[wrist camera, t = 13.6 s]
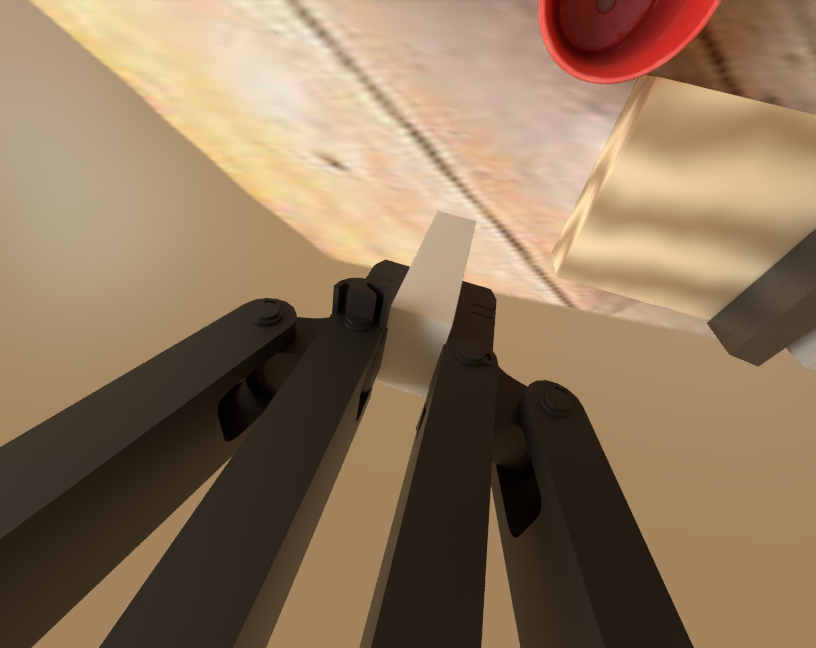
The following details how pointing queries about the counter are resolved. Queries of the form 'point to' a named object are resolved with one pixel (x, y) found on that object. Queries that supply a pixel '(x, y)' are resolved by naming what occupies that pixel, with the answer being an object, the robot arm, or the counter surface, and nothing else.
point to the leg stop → (805, 350)
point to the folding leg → (772, 308)
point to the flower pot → (619, 34)
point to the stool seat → (692, 198)
